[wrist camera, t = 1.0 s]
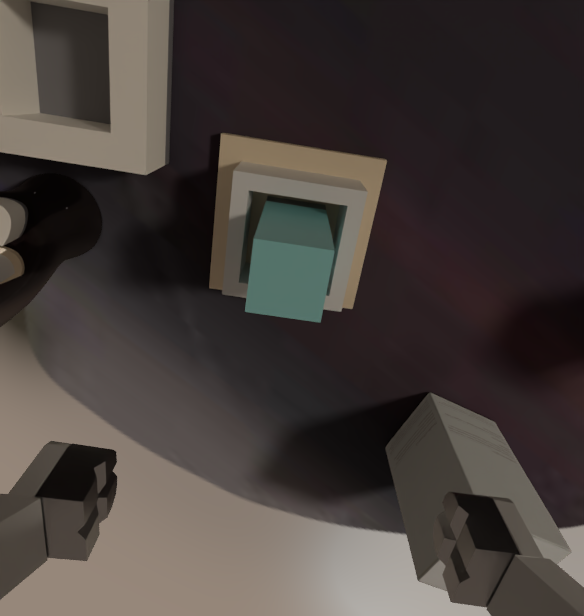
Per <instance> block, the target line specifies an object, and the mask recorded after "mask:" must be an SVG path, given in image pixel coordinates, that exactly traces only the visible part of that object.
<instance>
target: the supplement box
mask: <svg viewBox="0 0 584 616" xmlns="http://www.w3.org/2000/svg"><path fill="white" fill-rule="evenodd" d="M385 449H386V453H387V457H388V461H389V466H390V470H391V474H392V478H393V482H394V486H395V489H396V494H397V498H398V502H399V506H400V510H401V514H402V518H403V522H404V526H405V530H406V534H407V538H408V542H409V545H410V550H411V554H412V558H413V562H414V565H415V570H416V574H417V579H418V581H419V582H422V583H425V584H428V585H431V586H434V587H436V588H440V589H443V590H445V591H447V588H446V585H445V581H444V578H443V575H442V574H443V571H444V569H445V567H446V566H445V565H444V563H443V562H442V561H441V560H440V559H439V558H438V557H437V555H436V552H435V548H434V542H433V526H434V523H435V520H436V517H437V515H439V514H440V513H442V512H443V511H444V510H445V509H444V506H443V504H442V502H443V499H444V497H445V495H446V494H447V493H448V492H457V493H466V494H475V495H483V496H493V497H502V498H509V499H510V500H511V501H513V502H514V504H515V506H516V508H517V510H518V511H519V513H520V515H521V517H522V519H523V521H524V523H525V524H526V526H527V528H528V530H529V532H530V534H531V535H532V537H533V539H534V541H535V543H536V545H537V546H538V548H539V550H540V552H541V554H542V556H543V557H544V558H547V559H551V560H552V561H553V562H554V563H555V564H558V563H559V562H560V561H561V560H563V559H564V558H565V557H566V556H568V555H569V554H570V553H571V550H570V548H569V546H568V545H567V543H566V541H565V540H564V538H563V536H562V534H561V533H560V531H559V529H558V528H557V526H556V524H555V523H554V521H553V519H552V517H551V516H550V514H549V512H548V511H547V509H546V508H545V506H544V504H543V502H542V501H541V499H540V497H539V496H538V494H537V492H536V491H535V489H534V487H533V486H532V484H531V482H530V481H529V479H528V477H527V476H526V474H525V472H524V471H523V469H522V467H521V466H520V464H519V462H518V461H517V459H516V457H515V456H514V454H513V452H512V451H511V449H510V447H509V446H508V444H507V442H506V440H505V439H504V437H503V435H502V434H501V432H500V430H499V429H498V427H497V425H496V423H495V422H494V421H491V420H489V419H487V418H485V417H483V416H481V415H479V414H476V413H474V412H472V411H470V410H468V409H465V408H463V407H461V406H459V405H457V404H454V403H452V402H450V401H448V400H446V399H443V398H441V397H439V396H437V395H435V394H433V393H428V395H427V396H426V397H425V398H424V399H423V400H422V402H421V403H420V404H419V405H418V407H417V408H416V409H415V410H414V412H413V413H412V414H411V415H410V417H409V418H408V419H407V420H406V421H405V423H404V424H403V425H402V426H401V428H400V429H399V430H398V431H397V433H396V434H395V435H394V437H393V438H392V439H391V440H390V442H389V443H388V444H387V446H386V448H385Z"/></svg>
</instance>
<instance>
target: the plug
mask: <svg viewBox="0 0 584 616" xmlns="http://www.w3.org/2000/svg"><path fill="white" fill-rule="evenodd" d="M334 253H335V249H334V244H333V239H332V235H331V230H330V225H329V221H328V216H327V211H326V207H325V205H322V204H316V203H310V202H303V201H297V200H290V199H284V198H278V197H271V196H267V200H266V203H265V206H264V209H263V212H262V215H261V218H260V221H259V224H258V227H257V230H256V233H255V236H254V239H253V248H252V256H251V265H250V273H249V282H248V290H247V298H246V307H245V312H250V313H257V314H264V315H271V316H278V317H285V318H292V319H299V320H306V321H313V322H321V317H322V312H323V307H324V302H325V297H326V292H327V287H328V282H329V277H330V273H331V268H332V263H333V258H334Z"/></svg>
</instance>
